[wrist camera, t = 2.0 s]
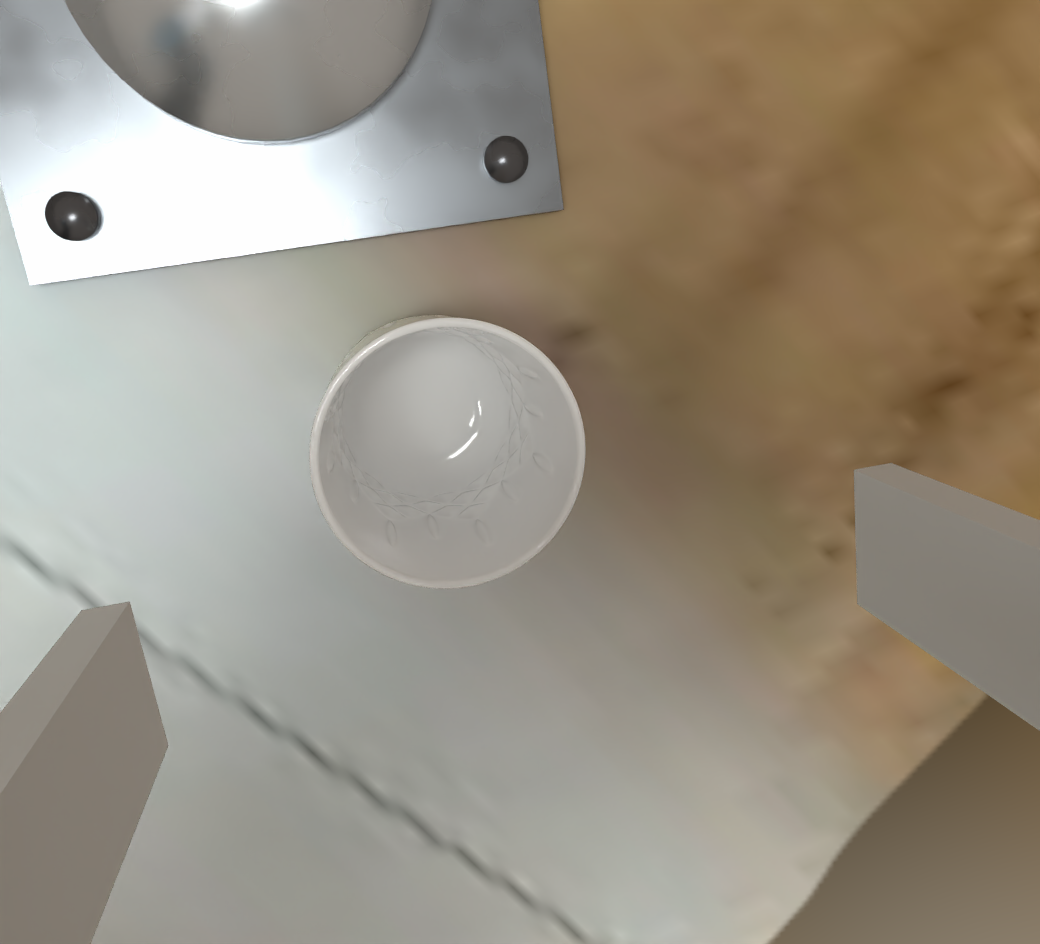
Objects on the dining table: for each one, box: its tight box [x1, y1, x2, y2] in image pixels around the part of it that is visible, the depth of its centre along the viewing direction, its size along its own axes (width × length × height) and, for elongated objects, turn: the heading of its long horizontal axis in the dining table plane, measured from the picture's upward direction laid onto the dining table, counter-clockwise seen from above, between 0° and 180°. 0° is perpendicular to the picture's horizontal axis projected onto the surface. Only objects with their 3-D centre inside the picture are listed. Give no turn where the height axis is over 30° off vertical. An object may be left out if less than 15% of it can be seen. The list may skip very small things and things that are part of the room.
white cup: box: [309, 315, 586, 589], centre depth 29 cm, size 8×8×10 cm
